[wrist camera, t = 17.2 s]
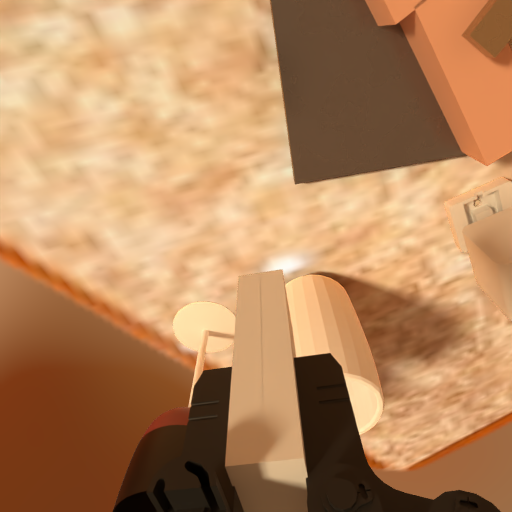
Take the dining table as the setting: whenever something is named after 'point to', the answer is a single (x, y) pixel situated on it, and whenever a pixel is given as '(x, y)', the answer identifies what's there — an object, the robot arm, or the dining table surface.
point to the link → (458, 71)
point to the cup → (336, 340)
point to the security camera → (486, 237)
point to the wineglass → (174, 421)
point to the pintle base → (363, 87)
